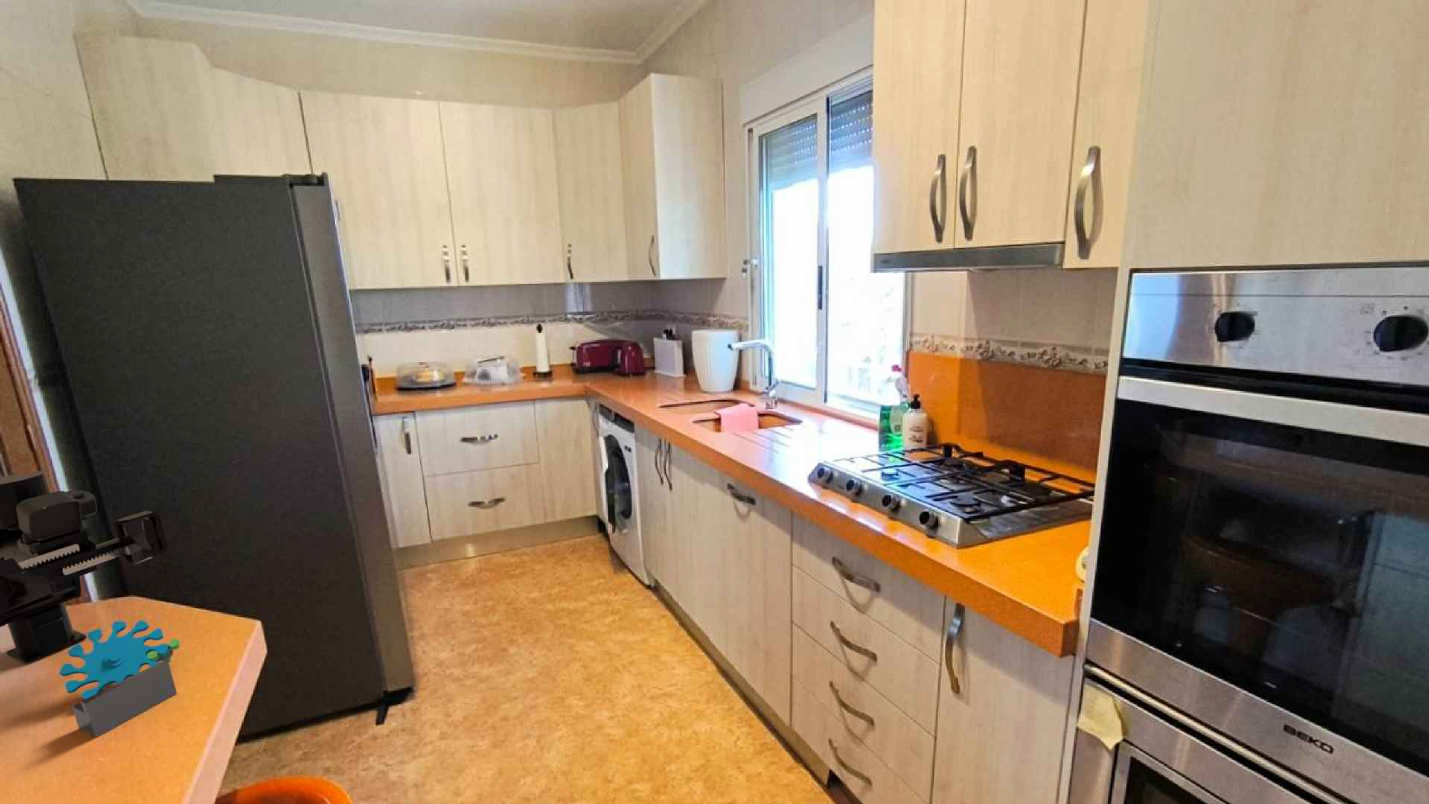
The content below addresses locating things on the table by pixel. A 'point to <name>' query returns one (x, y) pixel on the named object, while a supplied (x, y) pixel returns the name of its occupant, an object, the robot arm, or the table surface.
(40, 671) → the table surface
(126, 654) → the gear
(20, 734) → the table surface
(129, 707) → the bay frame
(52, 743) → the table surface
